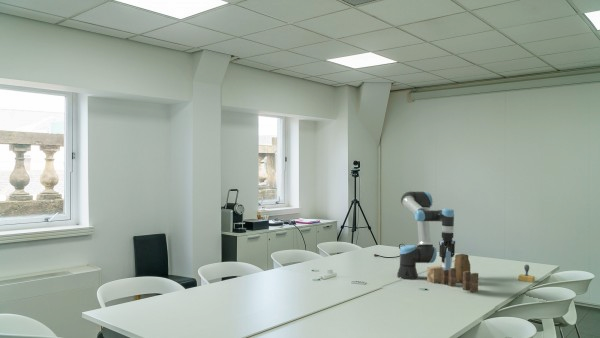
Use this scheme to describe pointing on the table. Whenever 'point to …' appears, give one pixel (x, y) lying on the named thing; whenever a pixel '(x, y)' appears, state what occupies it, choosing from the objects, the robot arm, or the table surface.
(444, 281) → the domino
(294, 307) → the table surface
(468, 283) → the domino
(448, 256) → the domino
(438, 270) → the end block
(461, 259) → the bread loaf
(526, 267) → the rubber stamp
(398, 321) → the table surface
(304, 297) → the table surface
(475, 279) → the domino
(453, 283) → the domino
